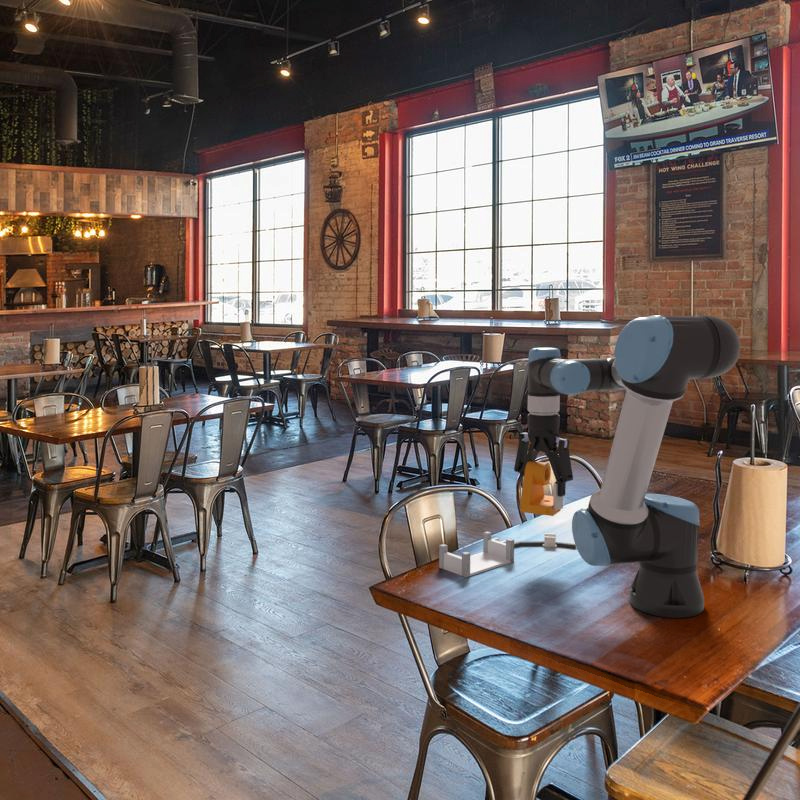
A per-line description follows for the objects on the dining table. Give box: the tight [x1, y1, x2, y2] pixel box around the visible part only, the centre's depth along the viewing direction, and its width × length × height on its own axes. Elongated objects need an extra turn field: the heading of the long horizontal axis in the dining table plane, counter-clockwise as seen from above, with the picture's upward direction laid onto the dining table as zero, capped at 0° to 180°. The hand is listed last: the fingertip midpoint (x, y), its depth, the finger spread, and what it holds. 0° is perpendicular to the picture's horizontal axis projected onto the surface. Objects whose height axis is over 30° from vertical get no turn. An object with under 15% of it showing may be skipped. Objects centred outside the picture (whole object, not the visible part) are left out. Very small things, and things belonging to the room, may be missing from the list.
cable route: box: [492, 532, 577, 549], centre depth 216 cm, size 6×23×3 cm, turn 100°
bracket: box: [519, 461, 562, 517], centre depth 202 cm, size 11×7×12 cm, turn 151°
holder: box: [438, 531, 515, 578], centre depth 203 cm, size 9×17×6 cm, turn 131°
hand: (542, 505), depth 203 cm, fingers closed on bracket, 9 cm apart
